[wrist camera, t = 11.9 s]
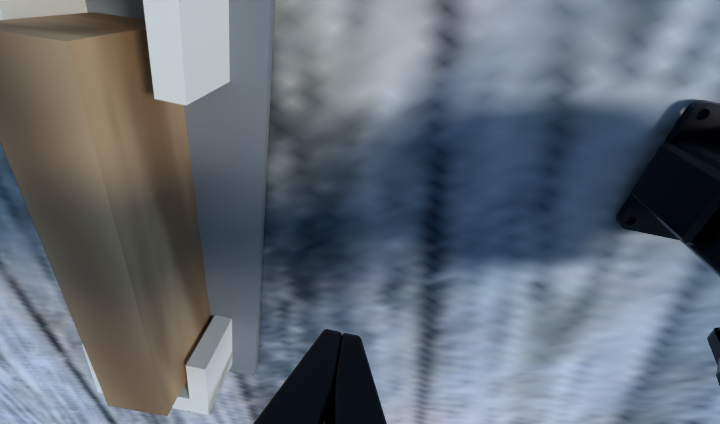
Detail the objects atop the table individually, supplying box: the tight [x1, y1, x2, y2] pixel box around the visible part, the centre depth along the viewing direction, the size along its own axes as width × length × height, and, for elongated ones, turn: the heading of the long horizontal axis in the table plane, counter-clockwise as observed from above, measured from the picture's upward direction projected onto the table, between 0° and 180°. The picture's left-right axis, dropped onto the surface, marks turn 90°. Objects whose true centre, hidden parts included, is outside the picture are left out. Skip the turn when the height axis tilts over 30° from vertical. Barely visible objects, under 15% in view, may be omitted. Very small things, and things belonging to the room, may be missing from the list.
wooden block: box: [0, 12, 211, 416], centre depth 19 cm, size 4×20×6 cm, turn 173°
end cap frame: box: [0, 0, 275, 415], centre depth 20 cm, size 11×28×5 cm, turn 170°
